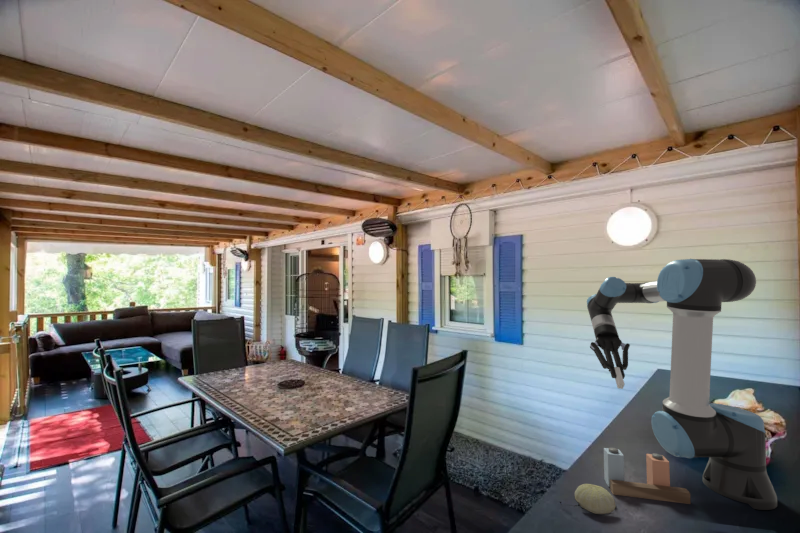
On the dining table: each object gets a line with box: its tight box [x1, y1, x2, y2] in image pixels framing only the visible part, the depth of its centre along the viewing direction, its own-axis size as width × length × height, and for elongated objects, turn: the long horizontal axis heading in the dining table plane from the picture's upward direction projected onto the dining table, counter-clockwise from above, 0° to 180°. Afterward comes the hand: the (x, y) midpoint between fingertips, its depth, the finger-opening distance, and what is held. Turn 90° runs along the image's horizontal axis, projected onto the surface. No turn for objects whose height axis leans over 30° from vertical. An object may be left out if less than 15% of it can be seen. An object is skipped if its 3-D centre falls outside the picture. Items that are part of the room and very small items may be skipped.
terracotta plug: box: [645, 453, 671, 487], centre depth 100 cm, size 4×4×10 cm
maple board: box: [609, 479, 691, 505], centre depth 104 cm, size 16×18×4 cm
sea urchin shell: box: [574, 483, 616, 515], centre depth 96 cm, size 9×8×8 cm
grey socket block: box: [603, 447, 626, 488], centre depth 104 cm, size 4×4×10 cm
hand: (621, 386), depth 121 cm, fingers closed
